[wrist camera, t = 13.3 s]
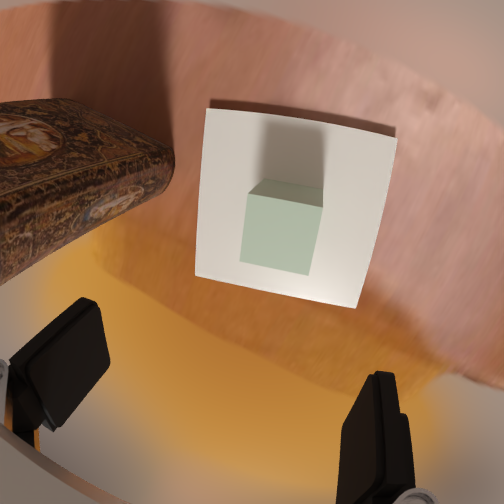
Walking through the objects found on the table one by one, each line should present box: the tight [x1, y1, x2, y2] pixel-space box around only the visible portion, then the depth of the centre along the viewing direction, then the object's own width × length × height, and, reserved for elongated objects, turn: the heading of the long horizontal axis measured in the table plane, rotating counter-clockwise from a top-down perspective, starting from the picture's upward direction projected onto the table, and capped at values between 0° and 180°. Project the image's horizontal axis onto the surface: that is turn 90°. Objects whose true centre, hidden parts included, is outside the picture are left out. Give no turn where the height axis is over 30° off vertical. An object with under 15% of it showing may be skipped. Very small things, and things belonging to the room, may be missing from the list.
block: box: [239, 178, 323, 276], centre depth 24 cm, size 5×5×6 cm
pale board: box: [195, 108, 398, 309], centre depth 27 cm, size 16×16×1 cm
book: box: [0, 98, 175, 286], centre depth 18 cm, size 16×6×25 cm, turn 62°
